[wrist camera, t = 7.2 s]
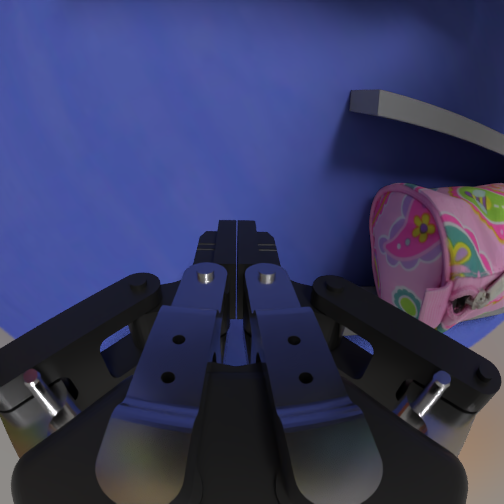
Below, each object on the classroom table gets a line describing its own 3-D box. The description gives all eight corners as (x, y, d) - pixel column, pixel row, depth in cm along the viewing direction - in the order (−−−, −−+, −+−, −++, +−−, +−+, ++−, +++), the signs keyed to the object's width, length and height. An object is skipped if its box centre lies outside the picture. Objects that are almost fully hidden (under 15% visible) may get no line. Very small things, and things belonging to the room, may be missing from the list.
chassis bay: (351, 90, 13) (379, 89, 10) (552, 167, 15) (576, 180, 11) (318, 301, 20) (331, 336, 17) (514, 287, 21) (531, 306, 18)
